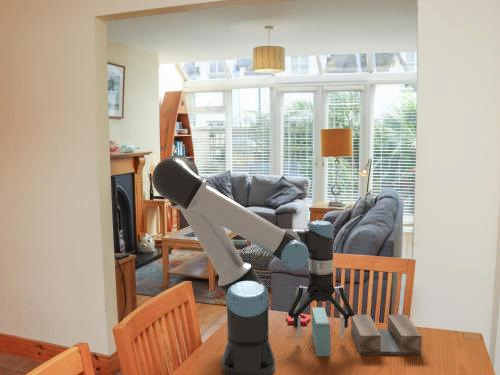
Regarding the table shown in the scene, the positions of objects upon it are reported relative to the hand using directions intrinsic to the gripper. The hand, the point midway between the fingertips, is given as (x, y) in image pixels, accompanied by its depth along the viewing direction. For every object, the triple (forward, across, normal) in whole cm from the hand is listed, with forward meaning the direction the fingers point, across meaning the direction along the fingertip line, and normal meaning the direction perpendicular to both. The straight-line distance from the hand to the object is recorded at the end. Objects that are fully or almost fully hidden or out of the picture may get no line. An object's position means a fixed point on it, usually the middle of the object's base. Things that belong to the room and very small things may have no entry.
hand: (320, 337), depth 150 cm
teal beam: (+2, 0, 0) cm, 2 cm away
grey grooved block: (+2, +20, +1) cm, 20 cm away
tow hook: (+3, -6, +19) cm, 20 cm away
